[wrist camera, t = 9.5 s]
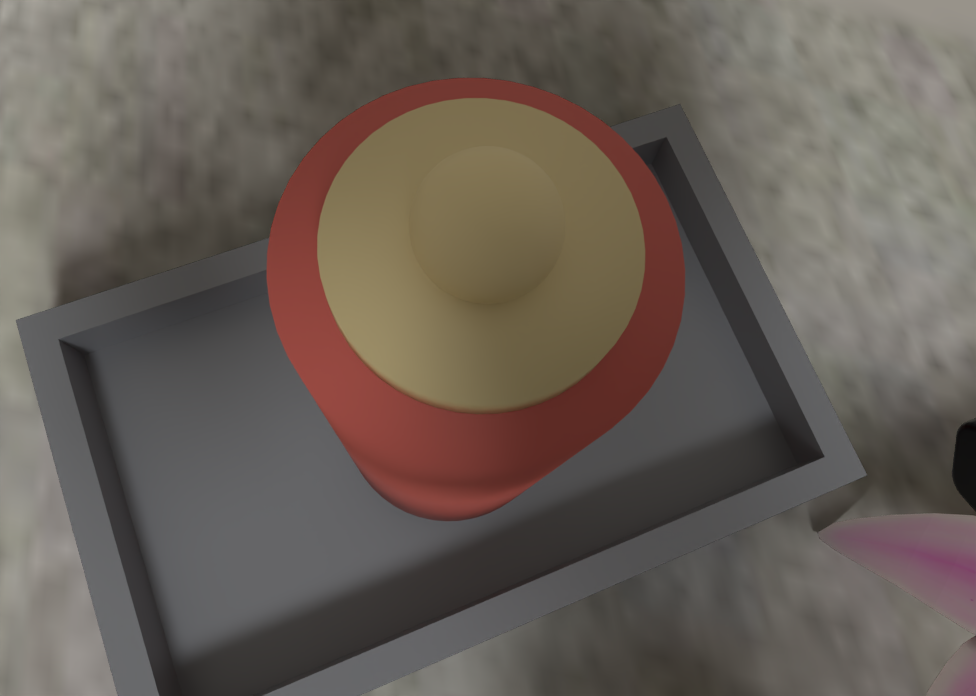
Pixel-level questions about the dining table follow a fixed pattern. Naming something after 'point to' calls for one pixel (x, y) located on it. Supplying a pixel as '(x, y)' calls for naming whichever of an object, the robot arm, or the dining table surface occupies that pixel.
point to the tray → (359, 508)
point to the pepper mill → (473, 288)
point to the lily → (923, 573)
